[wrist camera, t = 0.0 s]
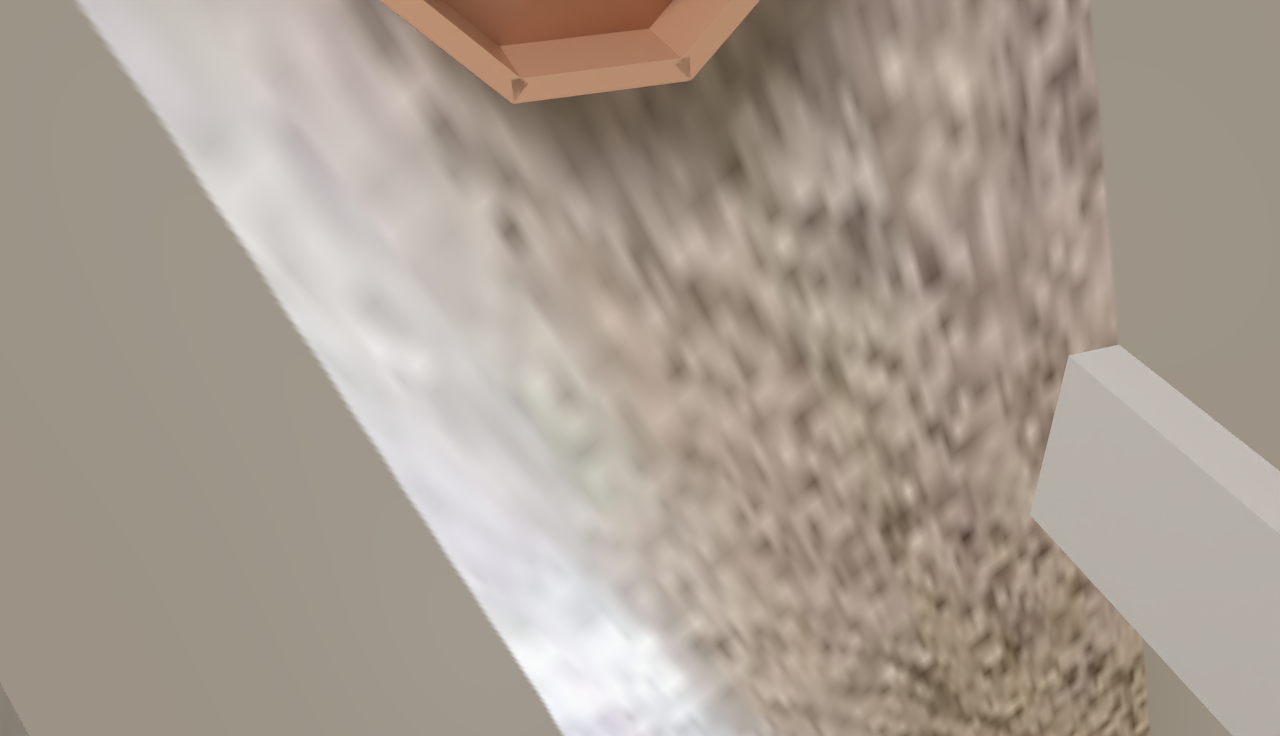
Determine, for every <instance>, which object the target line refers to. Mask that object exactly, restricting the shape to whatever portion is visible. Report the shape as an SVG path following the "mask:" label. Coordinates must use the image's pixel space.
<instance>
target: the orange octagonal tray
mask: <svg viewBox="0 0 1280 736" xmlns="http://www.w3.org/2000/svg"><path fill="white" fill-rule="evenodd" d="M380 1H381V2H383V3H384V4H385V5H386V6H388V7H389V8H390V9H392V10H393V11H394V12H395V13H397V14H398V15H399V16H401V17H402V18H403V19H404V20H406V21H407V22H408V23H410V24H411V25H412V26H413V27H415V28H416V29H417V30H419V31H420V32H421V33H422V34H424V35H425V36H426V37H428V38H429V39H430V40H431V41H433V42H434V43H435V44H437V45H438V46H439V47H440V48H442V49H443V50H444V51H446V52H447V53H448V54H449V55H451V56H452V57H453V58H454V59H456V60H457V61H458V62H460V63H461V64H462V65H463V66H465V67H466V68H467V69H469V70H470V71H471V72H472V73H474V74H475V75H476V76H478V77H479V78H480V79H481V80H483V81H484V82H485V83H487V84H488V85H489V86H490V87H492V88H493V89H494V90H496V91H497V92H498V93H499V94H501V95H502V96H503V97H505V98H506V99H507V100H508V101H510V102H511V103H513V104H517V103H524V102H532V101H540V100H547V99H555V98H563V97H570V96H578V95H586V94H593V93H601V92H609V91H616V90H624V89H631V88H639V87H647V86H654V85H662V84H670V83H677V82H685V81H690V79H691V80H692V79H693V78H694V77H695V75H696V74H697V73H698V72H699V71H700V70H701V68H702V67H703V66H704V65H705V64H706V63H707V62H708V60H709V59H710V58H711V57H712V56H713V55H714V53H715V52H716V51H717V50H718V49H719V48H720V46H721V45H722V44H723V43H724V42H725V41H726V39H727V38H728V37H729V36H730V35H731V34H732V32H733V31H734V30H735V29H736V28H737V27H738V25H739V24H740V23H741V22H742V21H743V20H744V18H745V17H746V16H747V15H748V14H749V13H750V11H751V10H752V9H753V8H754V7H755V6H756V4H757V3H758V2H759V1H760V0H380Z"/></svg>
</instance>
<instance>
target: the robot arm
mask: <svg viewBox="0 0 1280 736" xmlns="http://www.w3.org/2000/svg"><path fill="white" fill-rule="evenodd" d="M1030 515H1031V516H1032V517H1033V518H1034V519H1035V520H1036V522H1037V523H1038V524H1039V525H1040V526H1041V527H1042V528H1043V529H1044V530H1045V531H1046V532H1047V534H1048V535H1049V536H1050V537H1051V538H1052V539H1053V540H1054V541H1055V542H1056V543H1057V545H1058V546H1059V547H1060V548H1061V549H1062V550H1063V551H1064V552H1065V553H1066V554H1067V555H1068V557H1069V558H1070V559H1071V560H1072V561H1073V562H1074V563H1075V564H1076V565H1077V566H1078V567H1079V569H1080V570H1081V571H1082V572H1083V573H1084V574H1085V575H1086V576H1087V577H1088V578H1089V579H1090V581H1091V582H1092V583H1093V584H1094V585H1095V586H1096V587H1097V588H1098V589H1099V590H1100V591H1101V593H1102V594H1103V595H1104V596H1105V597H1106V598H1107V599H1108V600H1109V601H1110V602H1111V603H1112V605H1113V606H1114V607H1115V608H1116V609H1117V610H1118V611H1119V612H1120V613H1121V614H1122V615H1123V617H1124V618H1125V619H1126V620H1127V621H1128V622H1129V623H1130V624H1131V625H1132V626H1133V627H1134V629H1135V630H1136V631H1137V632H1138V633H1139V634H1140V635H1141V636H1142V637H1143V638H1144V640H1145V641H1146V642H1147V643H1148V644H1149V645H1150V646H1151V647H1152V648H1153V649H1154V650H1155V652H1156V653H1157V654H1158V655H1159V656H1160V657H1161V658H1162V659H1163V660H1164V661H1165V662H1166V663H1167V664H1168V666H1169V667H1170V668H1171V669H1172V670H1173V671H1174V672H1175V673H1176V674H1177V676H1178V677H1179V678H1180V679H1181V680H1182V681H1183V682H1184V683H1185V684H1186V685H1187V686H1188V688H1190V690H1191V691H1192V692H1193V693H1194V694H1195V695H1196V696H1197V697H1198V698H1199V700H1200V701H1201V702H1202V703H1203V704H1204V705H1205V706H1206V707H1207V708H1208V709H1209V710H1210V712H1212V714H1213V715H1214V716H1215V717H1216V718H1217V719H1218V720H1219V721H1220V723H1221V724H1222V725H1223V726H1224V727H1225V728H1226V729H1227V730H1228V731H1229V732H1230V733H1231V735H1232V736H1280V471H1279V470H1277V469H1276V468H1275V467H1273V466H1272V465H1271V464H1270V463H1268V462H1267V461H1266V460H1265V459H1263V458H1262V457H1261V456H1260V455H1258V454H1257V453H1256V452H1254V451H1253V450H1252V449H1251V448H1249V447H1248V446H1247V445H1246V444H1244V443H1243V442H1242V441H1241V440H1239V439H1238V438H1237V437H1235V436H1234V435H1233V434H1232V433H1230V432H1229V431H1228V430H1226V429H1225V428H1224V427H1223V426H1221V425H1220V424H1219V423H1218V422H1216V421H1215V420H1214V419H1213V418H1211V417H1210V416H1209V415H1207V414H1206V413H1205V412H1204V411H1202V410H1201V409H1200V408H1198V407H1197V406H1196V405H1195V404H1194V403H1192V402H1191V401H1190V400H1188V399H1187V398H1186V397H1185V396H1183V395H1182V394H1181V393H1179V392H1178V391H1177V390H1176V389H1174V388H1173V387H1172V386H1171V385H1169V384H1168V383H1167V382H1166V381H1164V380H1163V379H1162V378H1160V377H1159V376H1158V375H1157V374H1155V373H1154V372H1153V371H1152V370H1150V369H1149V368H1148V367H1147V366H1145V365H1144V364H1143V363H1141V362H1140V361H1139V360H1138V359H1136V358H1135V357H1134V356H1133V355H1131V354H1130V353H1129V352H1127V351H1126V350H1125V349H1124V348H1122V347H1121V346H1120V345H1116V346H1111V347H1107V348H1102V349H1097V350H1093V351H1088V352H1083V353H1079V354H1074V355H1069V357H1068V361H1067V365H1066V369H1065V373H1064V378H1063V382H1062V386H1061V390H1060V394H1059V398H1058V402H1057V406H1056V410H1055V414H1054V418H1053V423H1052V427H1051V431H1050V435H1049V439H1048V443H1047V447H1046V451H1045V455H1044V459H1043V464H1042V468H1041V472H1040V476H1039V480H1038V484H1037V488H1036V492H1035V496H1034V500H1033V504H1032V509H1031V513H1030ZM0 736H29V734H28V732H27V731H26V729H25V727H24V725H23V723H22V722H21V720H20V718H19V716H18V714H17V712H16V711H15V709H14V707H13V705H12V703H11V702H10V700H9V698H8V696H7V694H6V693H5V691H4V689H3V687H2V685H1V683H0Z"/></svg>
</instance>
